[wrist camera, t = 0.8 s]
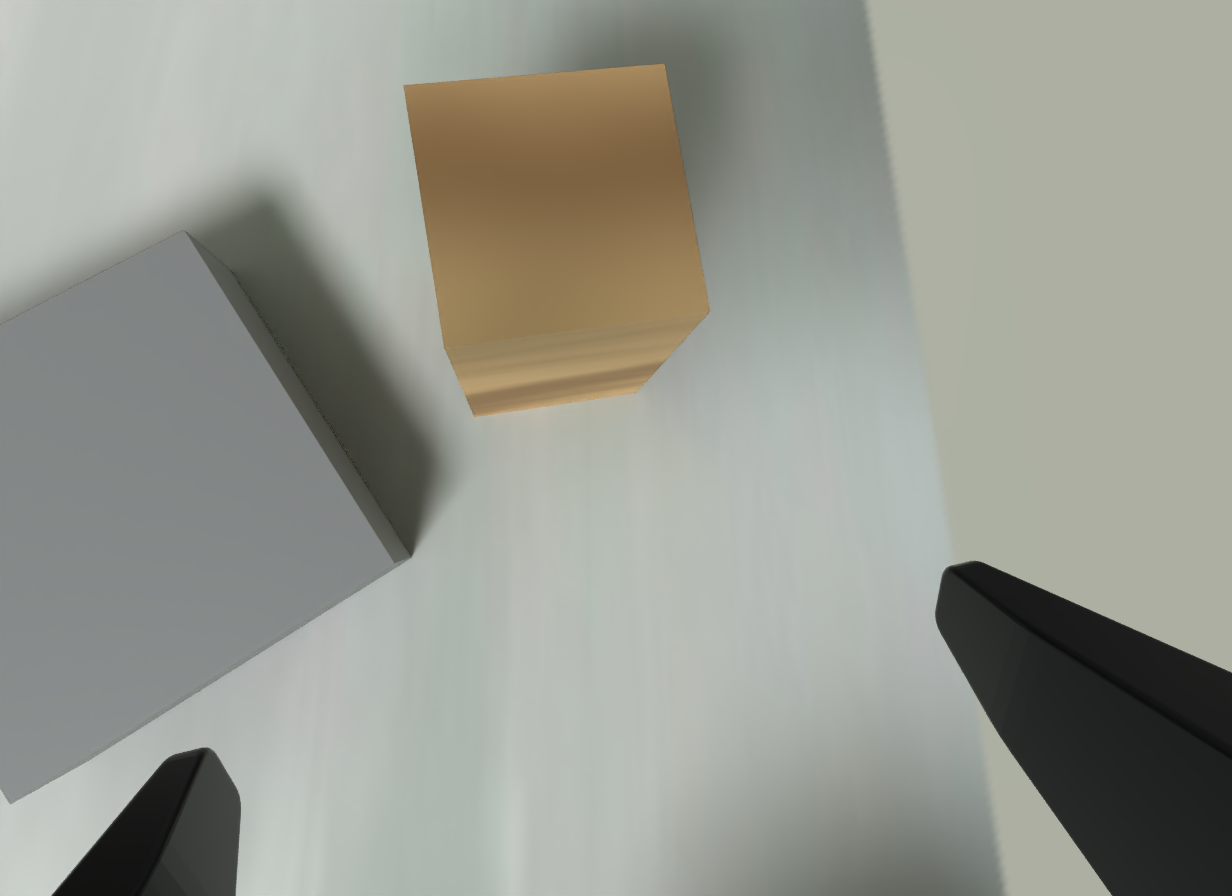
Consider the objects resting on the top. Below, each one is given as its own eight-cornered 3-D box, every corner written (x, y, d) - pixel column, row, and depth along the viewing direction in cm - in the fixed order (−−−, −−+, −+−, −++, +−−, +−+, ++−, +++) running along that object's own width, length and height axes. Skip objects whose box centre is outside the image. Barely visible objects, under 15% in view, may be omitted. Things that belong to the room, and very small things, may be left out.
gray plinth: (411, 557, 21) (394, 563, 18) (86, 761, 20) (10, 804, 17) (230, 270, 22) (184, 229, 19) (-108, 449, 20) (-218, 437, 17)
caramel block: (635, 392, 23) (710, 311, 14) (474, 417, 22) (444, 347, 13) (608, 238, 23) (664, 63, 14) (449, 257, 22) (403, 85, 14)
